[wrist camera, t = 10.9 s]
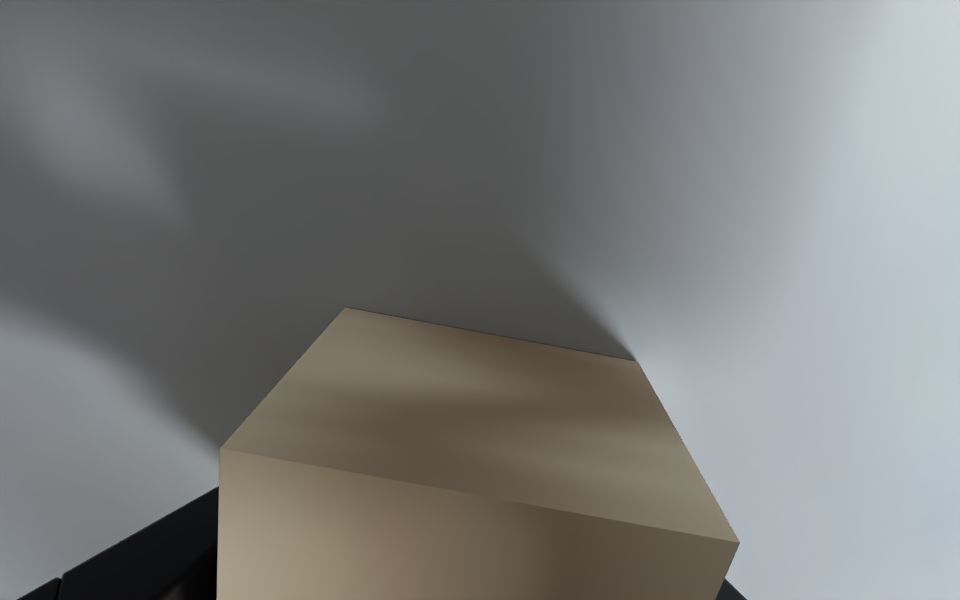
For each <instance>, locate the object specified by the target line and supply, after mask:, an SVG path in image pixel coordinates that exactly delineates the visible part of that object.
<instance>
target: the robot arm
mask: <svg viewBox="0 0 960 600" xmlns="http://www.w3.org/2000/svg"><path fill="white" fill-rule="evenodd" d="M218 509H219V486H218V487H216V488H214V489H213V490H211V491H209V492H207V493H206V494H204V495H202V496H200V497H198V498H197V499H195V500H193V501H191V502H190V503H188V504H186V505H184V506H182V507H181V508H179V509H177V510H175V511H174V512H172V513H170V514H168V515H166V516H165V517H163V518H161V519H159V520H158V521H156V522H154V523H152V524H151V525H149V526H147V527H145V528H143V529H142V530H140V531H138V532H136V533H135V534H133V535H131V536H129V537H127V538H126V539H124V540H122V541H120V542H119V543H117V544H115V545H113V546H111V547H110V548H108V549H106V550H104V551H103V552H101V553H99V554H97V555H96V556H94V557H92V558H90V559H88V560H87V561H85V562H83V563H81V564H80V565H78V566H76V567H74V568H72V569H71V570H69V571H67V572H65V573H64V574H63V575H62V578H61V579H60V578H54V579H53V580H51V581H49V582H47V583H45V584H44V585H42V586H40V587H38V588H37V589H35V590H33V591H31V592H29V593H28V594H26V595H24V596H22V597H20V598H19V599H17V600H217V558H218ZM715 600H747V599H746V598H745V597H744V596H743V595H742V594H741V593H740V592H738V591H737V590H736V589H735V588H734V587H733V586H732V585H731V584H730V583H729V582H728V581H727V580H726V579H725V578H724V581H723V583H722V585H721V588H720V590H719V592H718V595H717V597H716V599H715Z"/></svg>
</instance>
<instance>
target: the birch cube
mask: <svg viewBox="0 0 960 600" xmlns="http://www.w3.org/2000/svg"><path fill="white" fill-rule="evenodd" d="M739 544H740V542H739V540H738V538H737V537H736V535H735V533H734V531H733V529H732V528H731V526H730V524H729V522H728V521H727V519H726V517H725V515H724V513H723V512H722V510H721V508H720V506H719V505H718V503H717V501H716V499H715V498H714V496H713V494H712V492H711V490H710V489H709V487H708V485H707V483H706V482H705V480H704V478H703V476H702V474H701V473H700V471H699V469H698V467H697V466H696V464H695V462H694V460H693V459H692V457H691V455H690V453H689V451H688V450H687V448H686V446H685V444H684V443H683V441H682V439H681V437H680V435H679V434H678V432H677V430H676V428H675V427H674V425H673V423H672V421H671V420H670V418H669V416H668V414H667V412H666V411H665V409H664V407H663V405H662V404H661V402H660V400H659V398H658V396H657V395H656V393H655V391H654V389H653V388H652V386H651V384H650V382H649V381H648V379H647V377H646V375H645V373H644V372H643V370H642V368H641V366H640V365H639V363H638V362H636V361H631V360H626V359H620V358H615V357H610V356H604V355H599V354H593V353H588V352H583V351H577V350H572V349H566V348H561V347H556V346H550V345H545V344H540V343H534V342H529V341H523V340H518V339H513V338H507V337H502V336H496V335H491V334H486V333H480V332H475V331H470V330H464V329H459V328H453V327H448V326H443V325H437V324H432V323H426V322H421V321H416V320H410V319H405V318H400V317H394V316H389V315H383V314H378V313H373V312H367V311H362V310H356V309H351V308H346V307H345V308H344V309H343V310H342V311H341V312H340V313H339V314H338V316H337V317H336V318H335V319H334V320H333V321H332V322H331V323H330V325H329V326H328V327H327V328H326V329H325V330H324V331H323V333H322V334H321V335H320V336H319V337H318V338H317V339H316V340H315V342H314V343H313V344H312V345H311V346H310V347H309V348H308V349H307V351H306V352H305V353H304V354H303V355H302V356H301V357H300V358H299V360H298V361H297V362H296V363H295V364H294V365H293V366H292V367H291V369H290V370H289V371H288V372H287V373H286V374H285V375H284V376H283V378H282V379H281V380H280V381H279V382H278V383H277V384H276V385H275V387H274V388H273V389H272V390H271V391H270V392H269V393H268V395H267V396H266V397H265V398H264V399H263V400H262V401H261V402H260V404H259V405H258V406H257V407H256V408H255V409H254V410H253V411H252V413H251V414H250V415H249V416H248V417H247V418H246V419H245V420H244V422H243V423H242V424H241V425H240V426H239V427H238V428H237V429H236V431H235V432H234V433H233V434H232V435H231V436H230V437H229V438H228V440H227V441H226V442H225V443H224V444H223V445H222V446H221V447H220V460H219V509H218V558H217V600H715V599H716V597H717V595H718V592H719V590H720V588H721V585H722V583H723V581H724V578H725V576H726V574H727V572H728V569H729V567H730V565H731V562H732V560H733V558H734V555H735V553H736V551H737V549H738V546H739Z"/></svg>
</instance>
